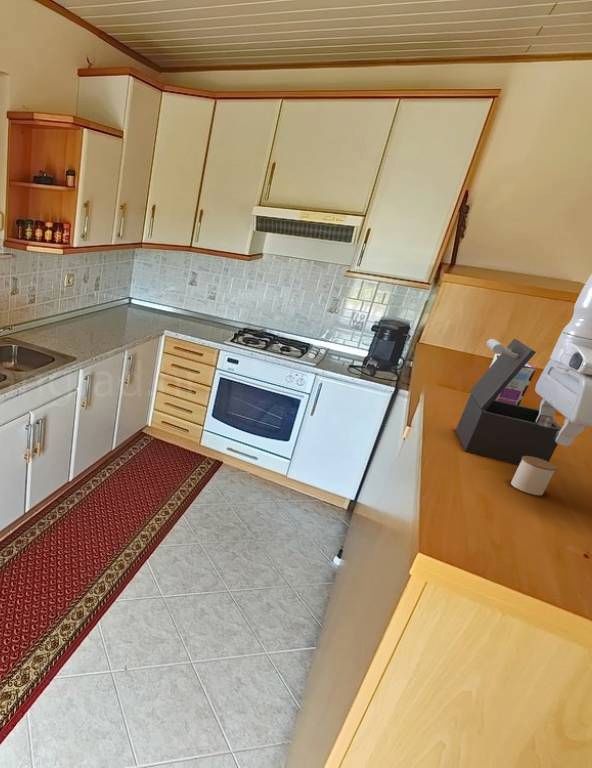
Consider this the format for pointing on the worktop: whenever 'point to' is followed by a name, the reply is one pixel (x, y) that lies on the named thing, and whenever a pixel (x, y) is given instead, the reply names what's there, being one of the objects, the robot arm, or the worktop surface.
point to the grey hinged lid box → (505, 432)
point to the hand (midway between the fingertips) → (551, 434)
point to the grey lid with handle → (501, 371)
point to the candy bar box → (516, 384)
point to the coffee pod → (533, 475)
